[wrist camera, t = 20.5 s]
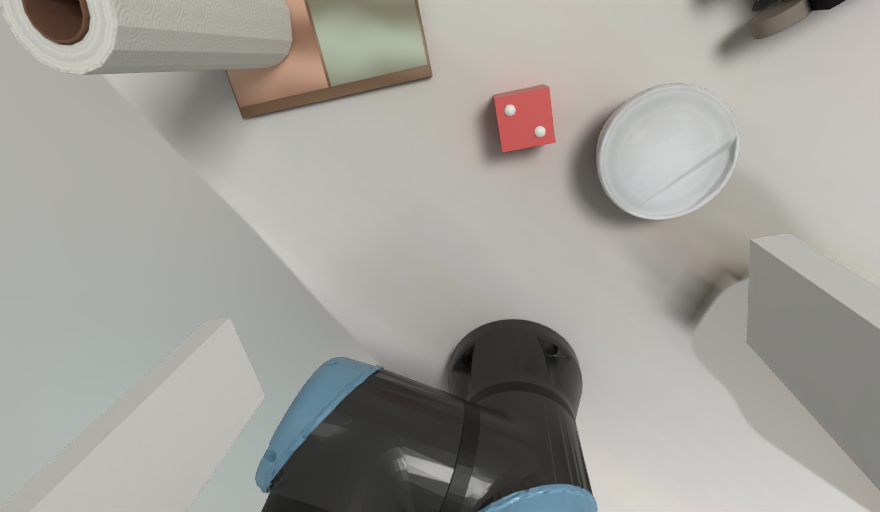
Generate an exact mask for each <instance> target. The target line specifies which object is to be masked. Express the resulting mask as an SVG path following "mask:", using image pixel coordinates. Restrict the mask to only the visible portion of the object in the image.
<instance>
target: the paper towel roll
mask: <svg viewBox="0 0 880 512" xmlns="http://www.w3.org/2000/svg"><path fill="white" fill-rule="evenodd" d="M0 5H1V8H2V12H3V16H4V18H5V19H6V21H7V23H8V25H9V26H10V28H11V30H12V31H13V33H14V35H15V36H16V38H17V40H18V41H19V42H20V43H21V44H22V45H23V46H24V47H25V48H26V49H27V50H28V51H29V52H30V53H31V54H32V55H33V56H34V57H36V59H37V60H38V61H40V62H42V63H44V64H46V65H48V66H50V67H52V68H54V69H56V70H58V71H60V72H62V73H70V74H83V75H89V74H90V75H91V74H118V73H144V72H170V71H196V70H222V69H249V68H269V67H272V66H274V65H277V64H280V63H281V62H282V60H283V59H284V58H285V57H286V56H287V55H288V54H289V51H290V48H291V45H292V41H293V39H292V27H291V19H290V10H289V8H288V6H287V4H286V2H285V0H0Z"/></svg>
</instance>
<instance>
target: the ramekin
mask: <svg viewBox="0 0 880 512" xmlns="http://www.w3.org/2000/svg"><path fill="white" fill-rule="evenodd" d="M596 147H597V150H596V156H597V157H596V166H597V173H598V177H599V180H600V183H601V186H602V188H603V190H604V191H605V193H606V194H607V196H608V197H609V198H610V199H611V201H612V202H613V203H614V204H615V205H617V206H618V207H619V208H620V209H621V210H622V211H624V212H626V213H628V214H630V215H632V216H635V217H638V218H642V219H647V220H668V219H674V218H678V217H681V216H684V215H687V214H689V213H691V212H693V211H695V210H697V209H699V208H701V207H702V206H704V205H705V204H707V203H708V202H709V201H710V200H711V199H712V198H714V197H715V196H716V195H717V194H718V193H719V192H720V191H721V190H722V188H723V187H724V186H725V184H726V183H727V181H728V180H729V178H730V176H731V175H732V173H733V171H734V168H735V166H736V163H737V160H738V156H739V151H740V133H739V128H738V124H737V121H736V119H735V116H734V115H733V113H732V111H731V109H730V108H729V107H728V105H727V104H726V103H725V102H724V101H723V100H722V99H721V98H720V97H718V96H717V95H715V94H714V93H712V92H710V91H709V90H706V89H704V88H701V87H698V86H695V85H690V84H683V83H673V84H664V85H659V86H655V87H652V88H650V89H647V90H645V91H642V92H641V93H639V94H637V95H635V96H634V97H632V98H630V99H629V100H628V101H626V102H624V103H623V104H622V105H621V106H619V107H618V108H617V109H616V110H615V111H614V112H613V113H612V114H611V116H610V117H609V118H608V119H607V121H606V123H605V124H604V125H603V128H602V130H601V131H600V135H599V138H598V143H597V146H596Z"/></svg>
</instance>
